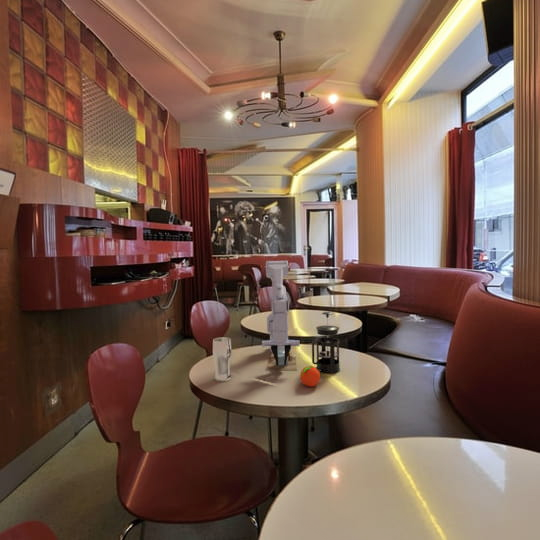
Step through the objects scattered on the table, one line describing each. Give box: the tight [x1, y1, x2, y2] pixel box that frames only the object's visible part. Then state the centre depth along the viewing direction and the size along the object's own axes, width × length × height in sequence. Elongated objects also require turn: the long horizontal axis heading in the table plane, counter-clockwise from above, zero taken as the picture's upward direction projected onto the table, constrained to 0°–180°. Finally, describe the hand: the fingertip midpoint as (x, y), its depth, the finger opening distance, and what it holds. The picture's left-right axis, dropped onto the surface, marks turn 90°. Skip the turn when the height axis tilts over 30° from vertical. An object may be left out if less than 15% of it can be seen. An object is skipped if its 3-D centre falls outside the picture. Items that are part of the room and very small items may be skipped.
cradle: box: [265, 352, 298, 372], centre depth 151 cm, size 18×12×3 cm, turn 177°
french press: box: [311, 311, 341, 375], centre depth 143 cm, size 12×9×23 cm
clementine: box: [299, 365, 321, 387], centre depth 127 cm, size 8×7×7 cm
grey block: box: [275, 350, 288, 367], centre depth 146 cm, size 5×10×5 cm, turn 177°
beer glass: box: [212, 336, 232, 382], centre depth 136 cm, size 7×7×15 cm
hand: (281, 364), depth 141 cm, fingers closed on grey block, 2 cm apart
